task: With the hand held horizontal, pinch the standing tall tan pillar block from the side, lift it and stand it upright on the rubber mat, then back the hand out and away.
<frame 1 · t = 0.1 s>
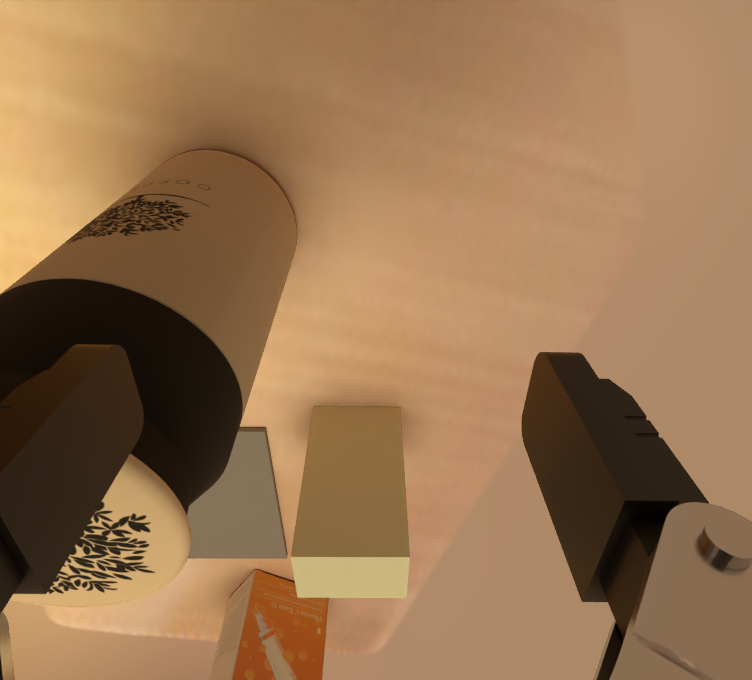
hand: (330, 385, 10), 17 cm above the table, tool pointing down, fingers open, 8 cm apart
travel mug: (223, 224, 26), on the table
rubber mat: (209, 498, 39), on the table
tall tan pillar block: (357, 427, 35), on the table
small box: (279, 591, 48), on the table
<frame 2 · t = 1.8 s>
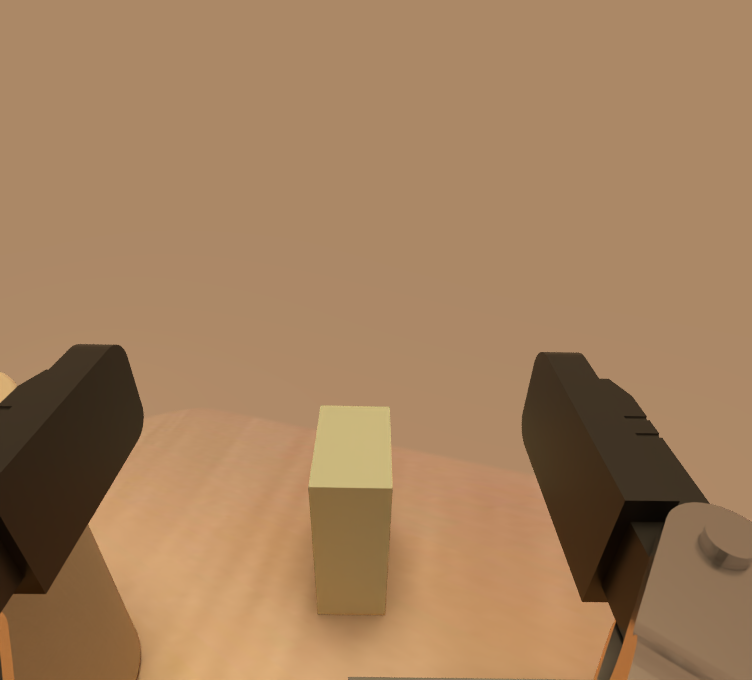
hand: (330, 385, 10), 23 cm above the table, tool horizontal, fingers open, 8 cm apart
tall tan pillar block: (353, 567, 31), on the table
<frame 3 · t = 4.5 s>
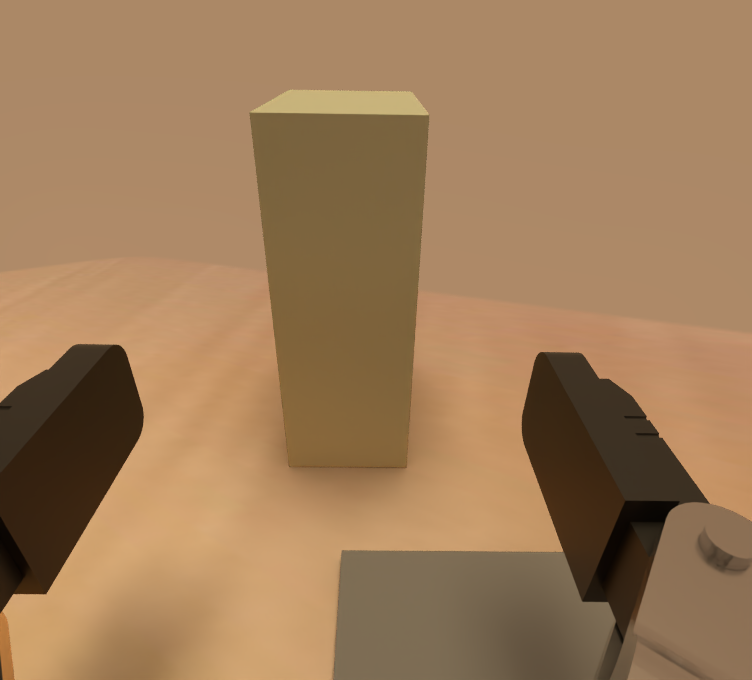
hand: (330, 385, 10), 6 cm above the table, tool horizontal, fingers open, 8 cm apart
tall tan pillar block: (351, 410, 19), on the table
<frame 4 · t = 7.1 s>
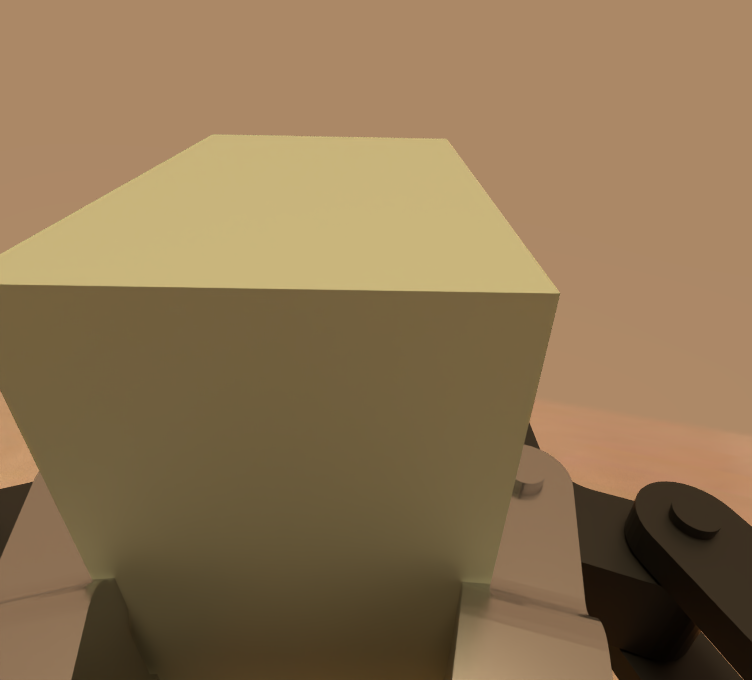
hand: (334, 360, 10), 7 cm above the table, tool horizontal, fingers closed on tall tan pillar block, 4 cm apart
tall tan pillar block: (334, 655, 11), on the table, touching gripper
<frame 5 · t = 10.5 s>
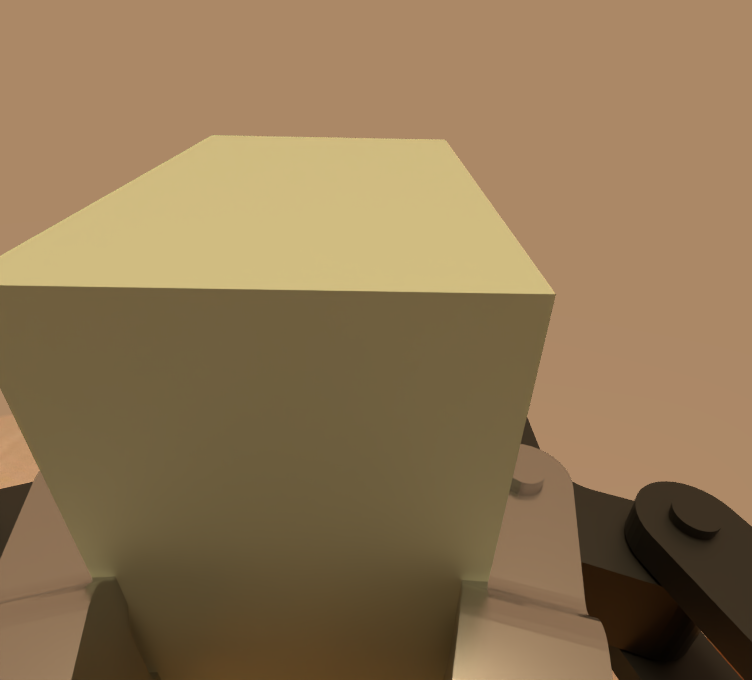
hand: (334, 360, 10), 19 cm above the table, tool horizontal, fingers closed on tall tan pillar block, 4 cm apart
tall tan pillar block: (333, 654, 12), point 13 cm above the table, touching gripper
when the fingers open (8 cm above the table, at t = 13.9 s): tall tan pillar block stays where it is, resting on rubber mat.
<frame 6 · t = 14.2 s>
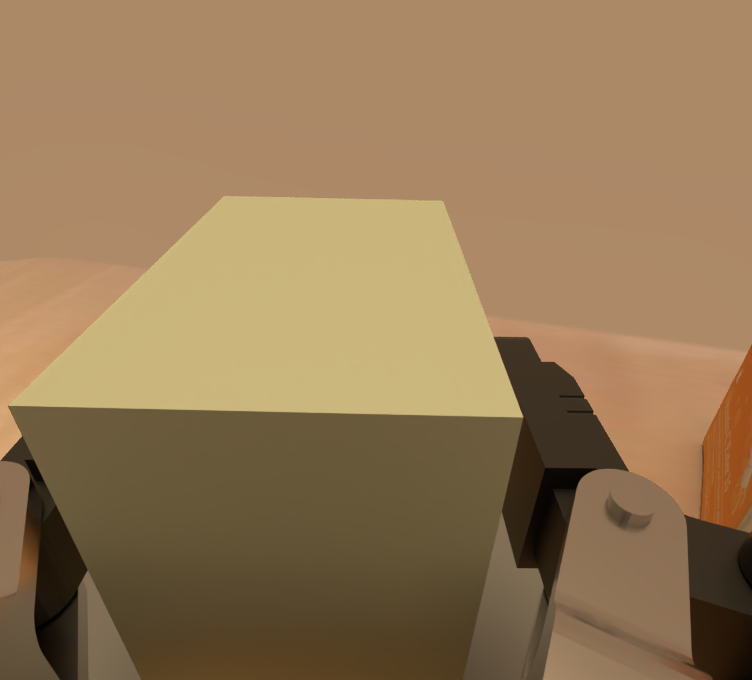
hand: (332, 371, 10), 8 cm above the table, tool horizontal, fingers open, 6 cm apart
tall tan pillar block: (335, 675, 12), resting on rubber mat
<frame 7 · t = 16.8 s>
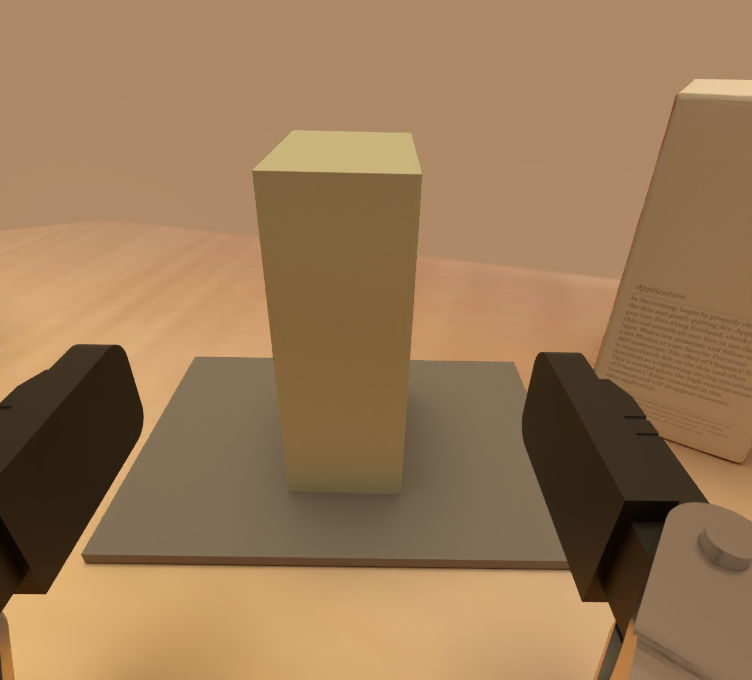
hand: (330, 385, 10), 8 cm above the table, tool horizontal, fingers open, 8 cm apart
rubber mat: (349, 442, 20), on the table
tall tan pillar block: (349, 434, 20), resting on rubber mat
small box: (662, 392, 24), on the table
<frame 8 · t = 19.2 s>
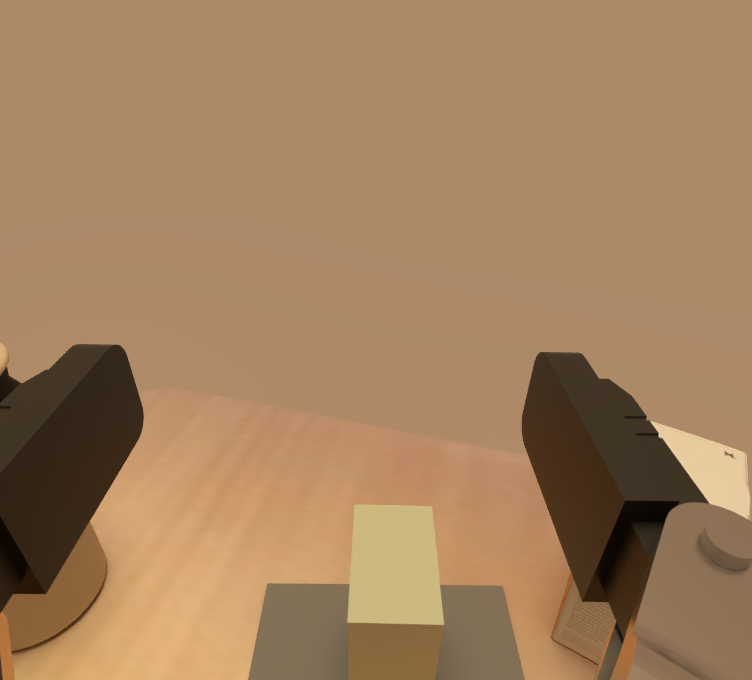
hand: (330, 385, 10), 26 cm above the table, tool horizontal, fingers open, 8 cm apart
travel mug: (43, 592, 33), on the table
rubber mat: (386, 677, 29), on the table
tall tan pillar block: (387, 673, 28), resting on rubber mat
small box: (611, 614, 32), on the table
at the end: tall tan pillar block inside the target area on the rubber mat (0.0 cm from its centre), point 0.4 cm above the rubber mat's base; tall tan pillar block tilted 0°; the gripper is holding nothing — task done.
